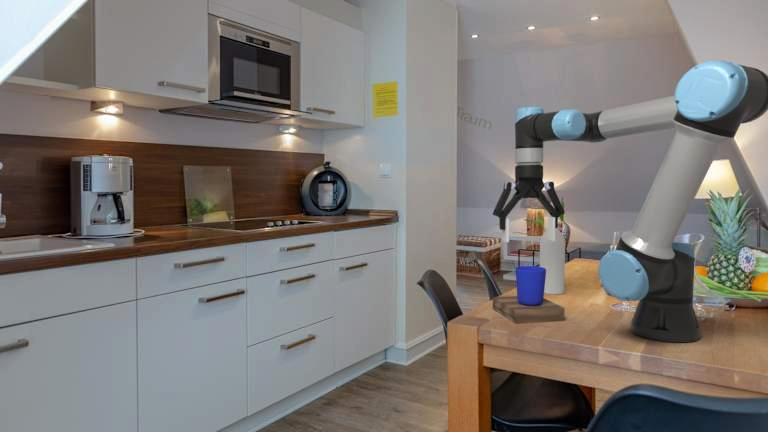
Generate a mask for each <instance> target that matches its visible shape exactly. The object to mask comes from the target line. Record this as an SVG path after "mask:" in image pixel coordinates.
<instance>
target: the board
mask: <svg viewBox="0 0 768 432" xmlns="http://www.w3.org/2000/svg"><path fill="white" fill-rule="evenodd" d="M492 310H494V311H496V312H497V313H498V314H500V315H502V316H503V317H504V318H506V319H508V320H509V321H511V322H513V323H514V324H530V323H548V322H562V321H563V322H564V321H565V307H564V306H562V305H559V304H557V303H555V302H553V301H551V300H549V299H547V298H543V302H542V304H541V305H537V306H527V305H522V304H520V303H519V302H518V299H517V295H513V296H512V295H511V296H509V295H508V296H494V297H492Z"/></svg>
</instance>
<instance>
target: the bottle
mask: <svg viewBox="0 0 768 432" xmlns="http://www.w3.org/2000/svg"><path fill="white" fill-rule="evenodd" d="M550 204H551V205H552V206H553V204H552V202H550ZM553 207H554V206H553ZM554 209H555V208H554ZM548 217H551V215H550V214H549V213H548ZM565 266H566V240H565V238H564V236H563V234H562V232H561V231H560V229H559V228H558V227H557V228H555V241H552V240H548V227H546V229H545V231H544V233H542V236H541V237H540V239H539V266H538V267H543V268H545V269H546V278H545V288H544V295H545V294H546V295H563V294H564V293H565V279H566V277H565V273H566V272H565V270H566V269H565Z"/></svg>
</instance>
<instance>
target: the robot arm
mask: <svg viewBox="0 0 768 432" xmlns="http://www.w3.org/2000/svg"><path fill="white" fill-rule="evenodd" d="M767 111H768V75H767V73H765V72H764V71H763V70H761V69H759V68H755V67H753V66H752V67H751V66H746V65H742V64H738V63H735V62H733V61H727V60H726V61H725V60H710V61H704V62H702V63H699V64H697V65H695V66H694V67H692V68H690V69H689V70H688V71H687V72H686V73H684V74H683V76H682V77H681V78H680V80H679V81H678V84H677V85H676V87H675V90H674V95H670V96H666V97H661V98H655V99H652V100H647V101H642V102H638V103H633V104H628V105H624V106H619V107H615V108H609V109H606V110H605V109H604V110H600V111H597V112H593V113H592V112H591V113H586V112H584V113H583V112H581V111H580V110H579V109H562V110H558V111H551V112H544V108H543V107H540V106H527V107H519V108H518V109H517V110H516V111H515V121H514V134H515V135H514V136H515V137H514V138H515V146H514V147H515V148H514V150H515V151H514V163H515V164H517V165H515V166H514V182H510V181H505V182H504V184H503V191H502V192H501V193H500V194H501V195H500V196H499V199H498V201H497V203H496V205H495V208H494V209H493V212H492V215H493V216H494V217H498V220H499V229H500V230H502V238H501V239H502V241H501V242H504V243H510V218H508V215H509V214H510V213H511V212H512V211H513V210H514V208H515V207H516V205H517V204H518V203H519V201H520V200H522V199H536V200H538V201H539V203H540V204H541V205H542V207H543V208H544V209H545V210H546V211H547V213H548V215H549V214H550V215H551V217H549V216H547V228H548V240H552V241H555V228H557V227H558V226H559V217H561V216H562V215H565V212H566V211H565V209H564V207H563V205H562V202H561V201H560V199H559V196H558V194H557V191H556V190H555V183H554V181H546V182H544V181H543V179H544V165H543V163H544V143H545V142H552V141H553V142H555V141H563V142H565V141H566V142H567V141H568V142H586V143H599V142H604V141H606V140H608V139H613V138H620V137H626V136H633V135H640V134H643V133H644V134H645V133H650V132H656V131H662V130H669V129H675V128H676V129H675V130H676V133H675V134H674V136H673V139H672V141H671V143H670V146H669V148H668V150H667V152H666V154H665V157H664V158H663V161H662V163H661V165H660V166H659V170H658V172H657V174H656V176H655V178H654V181H653V182H652V184H651V188H650V189H649V191H648V194H647V196H646V199H644V200H645V201H644V202H643V205H642V207H641V209H640V211H639V213H638V216H637V218H636V220H635V222H634V225H633V227H632V228H631V230H629V231H625V232H624V233H622V235H620V238H619V240H618V242H617V245H616V247H615V249H613V250H611V251H608V252H607V253H605V254H604V255H603V256H602V257H601V259H600V260H599V263H598V268H597V270H598V273H597V274H598V277H599V279H600V281H601V285H602V287H603V289H604V290H605V291H606V292H607V293H608V295H610V296H612V297H613V298H615V299H616V300H619V301H624V302H636V301H638V304H637V306H636V309H635V311H634V313H633V316H632V317H633V318H632V319H631V321H630V331H631V333H633V334H634V335H637V336H640V337H643V338H646V339H650V340H654V341H659V342H668V343H669V342H670V343H692V342H696V341H698V340H700V337H701V328H700V325H699V322H698V321H699V320H698V319H697V315H696V314H697V313H696V311H695V309H694V304H693V303H694V286H695V285H694V282H695V281H694V280H695V279H694V278H695V262H696V256H695V247H694V246H693V245H692V244H690V243H688V242H679V241H678V242H676V241H675V239H676V236H677V234H678V233H679V230H680V228H681V227H682V224H683V222H684V221H685V219H686V216H687V214H688V212H689V211H690V208H691V207H692V205H693V203H694V200H695V199H696V196H697V194H698V192H699V191H700V188H701V186H702V183H703V182H704V180H705V177H706V176H707V174H708V171H709V170H710V167H711V166H712V163H713V161H714V159H715V158H716V155H717V154H718V151H719V149H720V148H721V145H723V144H725V143H726V142H729V141H732V140H733V139H734V138H735V136H736V135H737V132H738V130H739V128H740V126H741V124H743V125H744V124H747V123H751V122H753V121H755V120H757V119H759V118H760V117H762V116H764V114H766V113H767ZM513 189H515V191H516V192H514V194H513V195H512V197H511V198H510V200H509V202H507V201H508V199H509V196H510V195H511V191H513ZM543 189H544V190H546V192H547V193H546V194H547V195H548V197H549V199H550V200H549V199H548V198H547V197H546V194H544V192H543ZM506 203H507V204H506ZM550 203H552V204H553V206H554V207H553V206H552V205H551V204H550ZM554 208H555V209H554Z"/></svg>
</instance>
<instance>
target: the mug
mask: <svg viewBox="0 0 768 432" xmlns="http://www.w3.org/2000/svg"><path fill="white" fill-rule="evenodd" d="M545 278H546V269H545V268H543V267H539V266H535V265H523V266H522V265H520V266H517V267H515V281H516V283H515V284H516V296H517V299H518V302H519V303H520V304H522V305H527V306H537V305H541V304H542V302H543V298H544V297H545V294H544V288H545ZM544 299H545V298H544Z"/></svg>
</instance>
